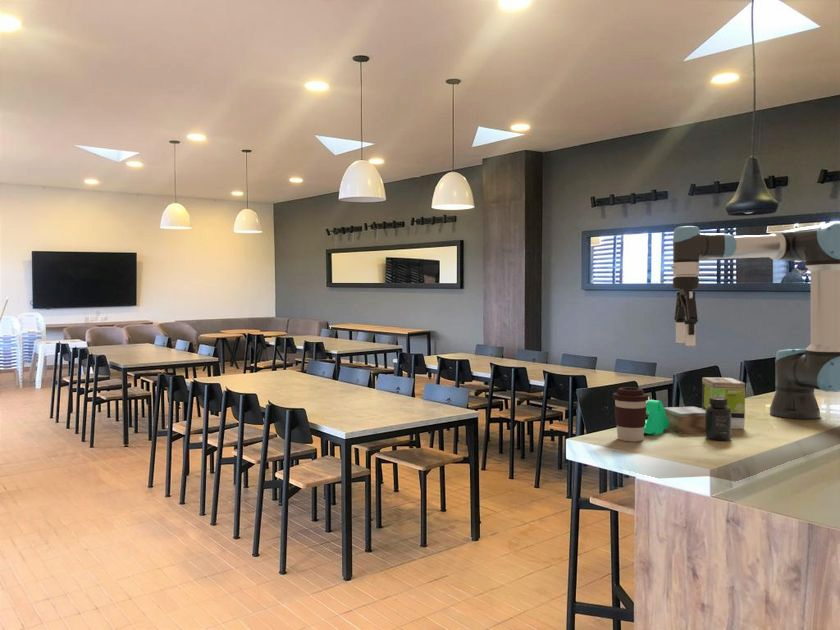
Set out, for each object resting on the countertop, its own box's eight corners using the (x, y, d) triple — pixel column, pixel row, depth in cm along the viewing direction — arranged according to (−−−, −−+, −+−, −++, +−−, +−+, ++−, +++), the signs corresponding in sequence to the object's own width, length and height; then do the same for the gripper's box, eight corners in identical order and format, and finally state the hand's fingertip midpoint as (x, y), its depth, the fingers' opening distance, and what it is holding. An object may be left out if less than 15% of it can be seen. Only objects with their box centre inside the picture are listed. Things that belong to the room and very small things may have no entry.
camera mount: (646, 427, 207) (646, 395, 207) (668, 431, 202) (668, 398, 201) (626, 433, 199) (626, 400, 199) (649, 437, 193) (649, 403, 193)
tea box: (745, 429, 202) (746, 382, 202) (711, 428, 204) (711, 382, 204) (732, 420, 217) (732, 376, 216) (700, 419, 219) (700, 376, 219)
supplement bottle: (735, 438, 189) (735, 398, 189) (725, 442, 185) (725, 400, 184) (711, 435, 194) (711, 395, 194) (701, 438, 190) (701, 398, 190)
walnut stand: (694, 424, 210) (694, 406, 210) (713, 431, 199) (713, 412, 199) (662, 426, 209) (662, 407, 208) (680, 433, 198) (680, 413, 198)
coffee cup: (608, 440, 188) (608, 389, 188) (617, 434, 197) (617, 385, 196) (644, 444, 183) (643, 392, 183) (651, 437, 192) (651, 387, 191)
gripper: (665, 277, 215) (664, 341, 215) (682, 275, 190) (681, 347, 191) (689, 277, 213) (688, 341, 214) (709, 274, 189) (708, 347, 189)
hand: (685, 344), depth 202 cm, fingers open, 13 cm apart
